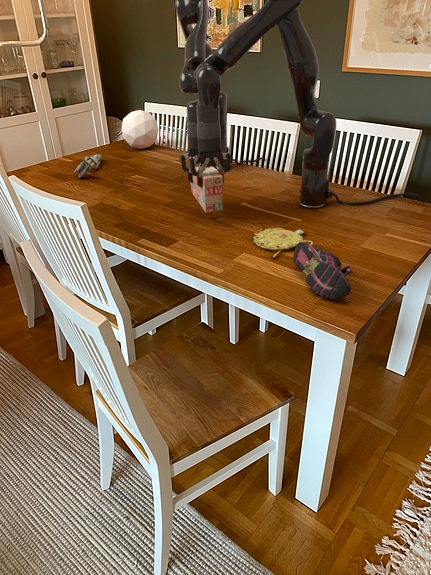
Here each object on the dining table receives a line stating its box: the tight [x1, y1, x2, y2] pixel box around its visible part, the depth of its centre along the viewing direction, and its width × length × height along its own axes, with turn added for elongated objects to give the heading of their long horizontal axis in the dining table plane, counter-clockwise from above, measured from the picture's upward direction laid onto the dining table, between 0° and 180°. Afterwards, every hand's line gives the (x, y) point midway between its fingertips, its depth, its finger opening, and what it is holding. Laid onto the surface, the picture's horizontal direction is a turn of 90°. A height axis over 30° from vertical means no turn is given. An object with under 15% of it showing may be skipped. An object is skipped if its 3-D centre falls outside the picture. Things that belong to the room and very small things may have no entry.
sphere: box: [121, 109, 159, 150], centre depth 235 cm, size 19×20×20 cm
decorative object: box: [252, 227, 314, 259], centre depth 140 cm, size 21×2×20 cm
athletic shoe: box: [292, 242, 354, 300], centre depth 118 cm, size 11×22×12 cm
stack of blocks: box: [190, 166, 224, 214], centre depth 156 cm, size 21×6×12 cm, turn 17°
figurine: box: [73, 154, 103, 179], centre depth 208 cm, size 7×8×30 cm
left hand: (200, 180), depth 162 cm, fingers closed on stack of blocks, 6 cm apart
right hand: (210, 185), depth 149 cm, fingers closed on stack of blocks, 6 cm apart
